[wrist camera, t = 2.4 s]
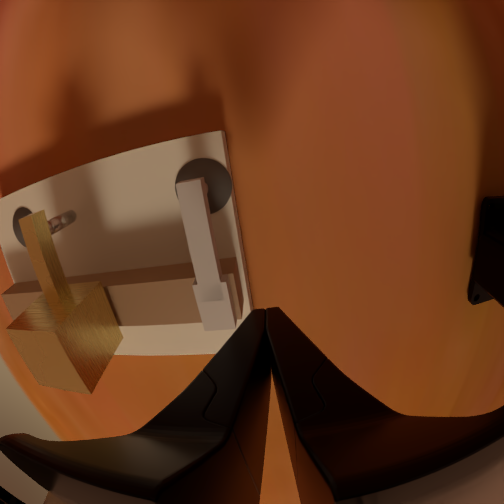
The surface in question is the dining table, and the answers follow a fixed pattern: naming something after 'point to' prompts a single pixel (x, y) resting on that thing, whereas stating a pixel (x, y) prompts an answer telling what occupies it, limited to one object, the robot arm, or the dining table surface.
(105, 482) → the robot arm
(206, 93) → the dining table surface
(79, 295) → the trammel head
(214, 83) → the dining table surface
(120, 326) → the gauge board
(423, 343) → the dining table surface
